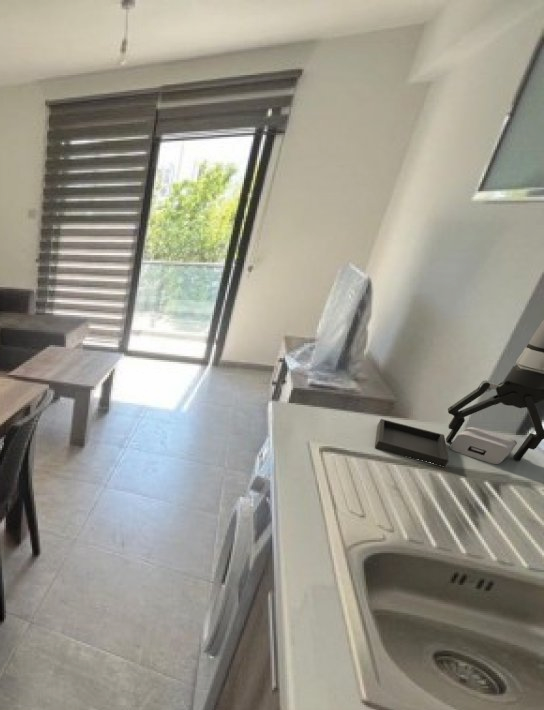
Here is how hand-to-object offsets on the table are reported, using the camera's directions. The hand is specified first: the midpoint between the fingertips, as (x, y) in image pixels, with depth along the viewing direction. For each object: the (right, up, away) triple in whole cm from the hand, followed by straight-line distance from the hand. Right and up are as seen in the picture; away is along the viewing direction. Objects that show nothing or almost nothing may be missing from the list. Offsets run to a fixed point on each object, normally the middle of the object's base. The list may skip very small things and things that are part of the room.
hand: (481, 449), depth 122 cm
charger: (0, 0, 0) cm, 0 cm away
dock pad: (-18, +1, +1) cm, 18 cm away
